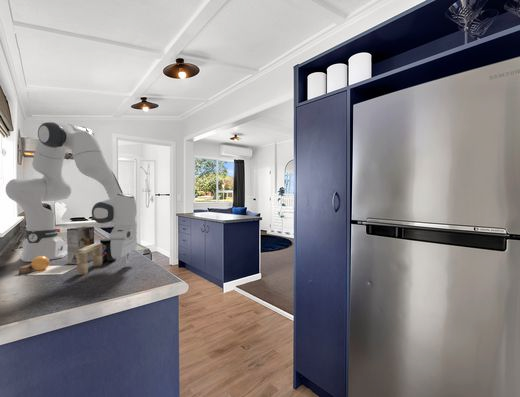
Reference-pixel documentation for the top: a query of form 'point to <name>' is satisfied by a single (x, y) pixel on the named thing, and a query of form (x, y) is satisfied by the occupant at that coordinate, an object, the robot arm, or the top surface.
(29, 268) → the stopper
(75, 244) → the coffee box
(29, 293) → the top surface
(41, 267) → the ball
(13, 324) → the top surface
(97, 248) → the bridge
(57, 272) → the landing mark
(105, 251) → the supplement container
